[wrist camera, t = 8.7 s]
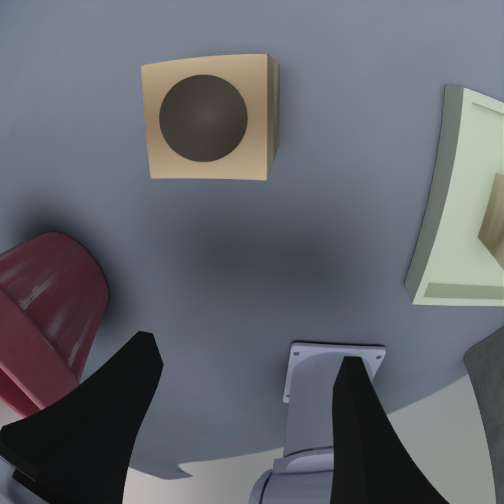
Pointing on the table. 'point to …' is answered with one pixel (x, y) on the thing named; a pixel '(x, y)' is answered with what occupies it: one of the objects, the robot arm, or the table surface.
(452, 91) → the tray
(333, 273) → the table surface
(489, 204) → the birch block
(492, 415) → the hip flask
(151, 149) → the oak block
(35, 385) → the plant pot
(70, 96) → the table surface
